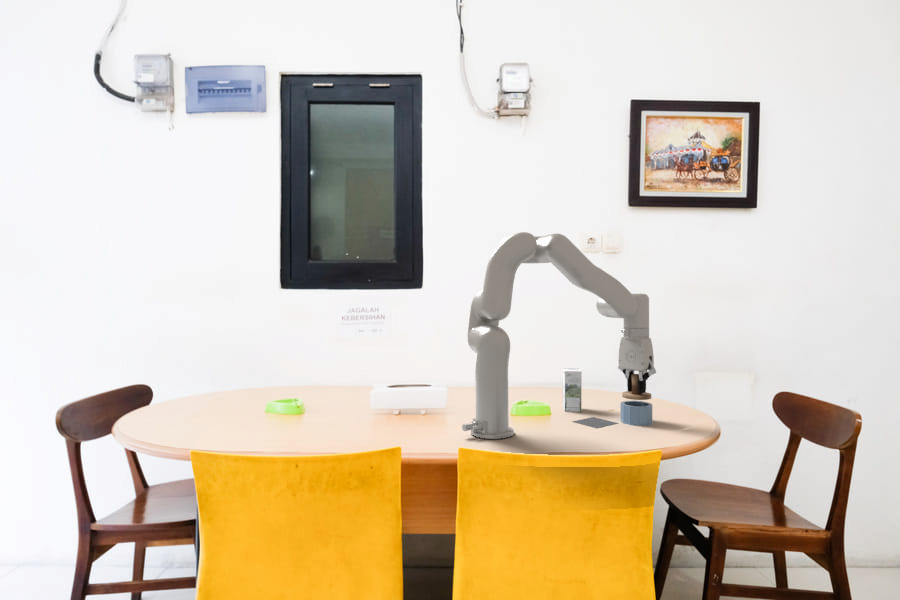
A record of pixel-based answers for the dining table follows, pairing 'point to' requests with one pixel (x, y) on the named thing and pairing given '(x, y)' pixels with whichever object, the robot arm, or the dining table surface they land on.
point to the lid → (636, 391)
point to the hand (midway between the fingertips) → (636, 391)
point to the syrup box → (572, 389)
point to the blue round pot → (636, 413)
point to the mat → (595, 422)
